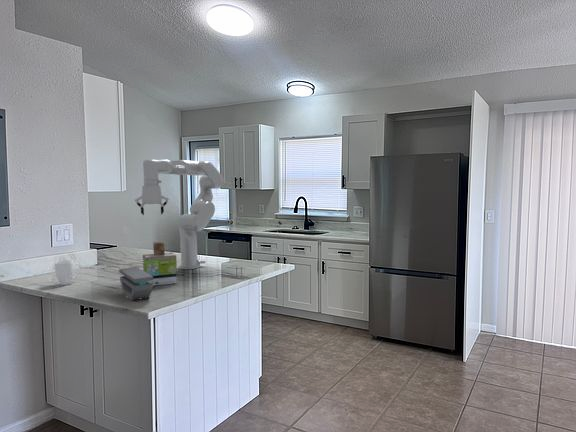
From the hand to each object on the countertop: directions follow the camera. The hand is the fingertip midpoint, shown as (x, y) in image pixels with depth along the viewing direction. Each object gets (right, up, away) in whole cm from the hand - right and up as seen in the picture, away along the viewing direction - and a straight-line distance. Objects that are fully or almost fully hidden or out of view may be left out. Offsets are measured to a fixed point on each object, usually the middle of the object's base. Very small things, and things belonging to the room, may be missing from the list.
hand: (152, 214), depth 239 cm
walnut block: (+8, -20, -17) cm, 27 cm away
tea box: (+9, -35, -15) cm, 39 cm away
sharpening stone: (+5, -37, -39) cm, 54 cm away
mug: (-38, -35, -14) cm, 54 cm away
